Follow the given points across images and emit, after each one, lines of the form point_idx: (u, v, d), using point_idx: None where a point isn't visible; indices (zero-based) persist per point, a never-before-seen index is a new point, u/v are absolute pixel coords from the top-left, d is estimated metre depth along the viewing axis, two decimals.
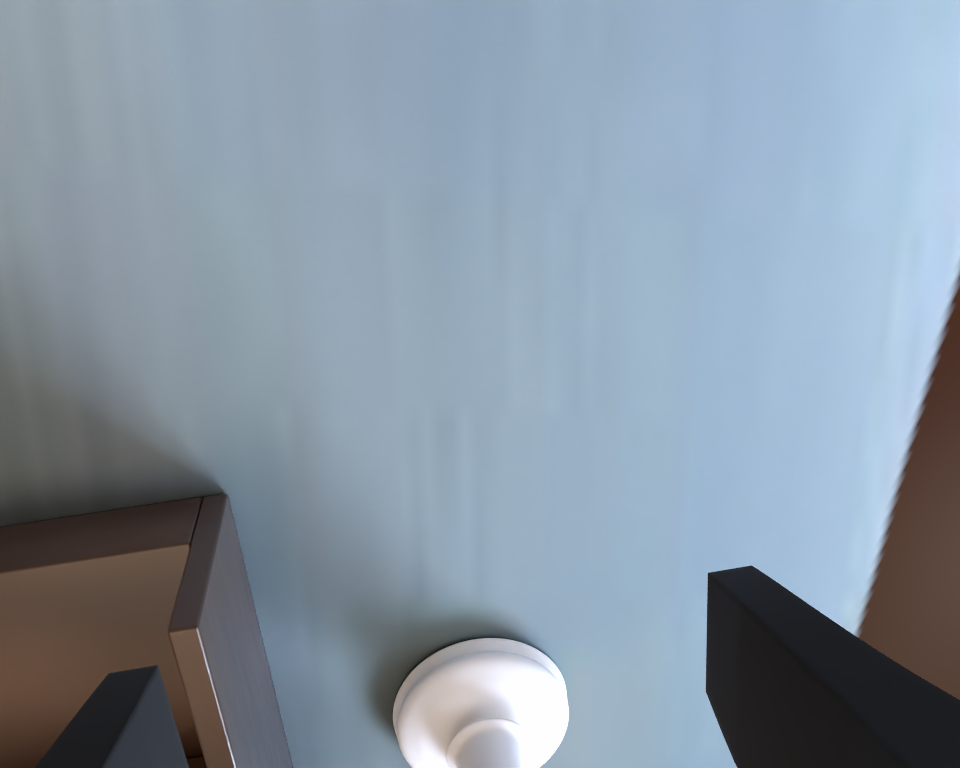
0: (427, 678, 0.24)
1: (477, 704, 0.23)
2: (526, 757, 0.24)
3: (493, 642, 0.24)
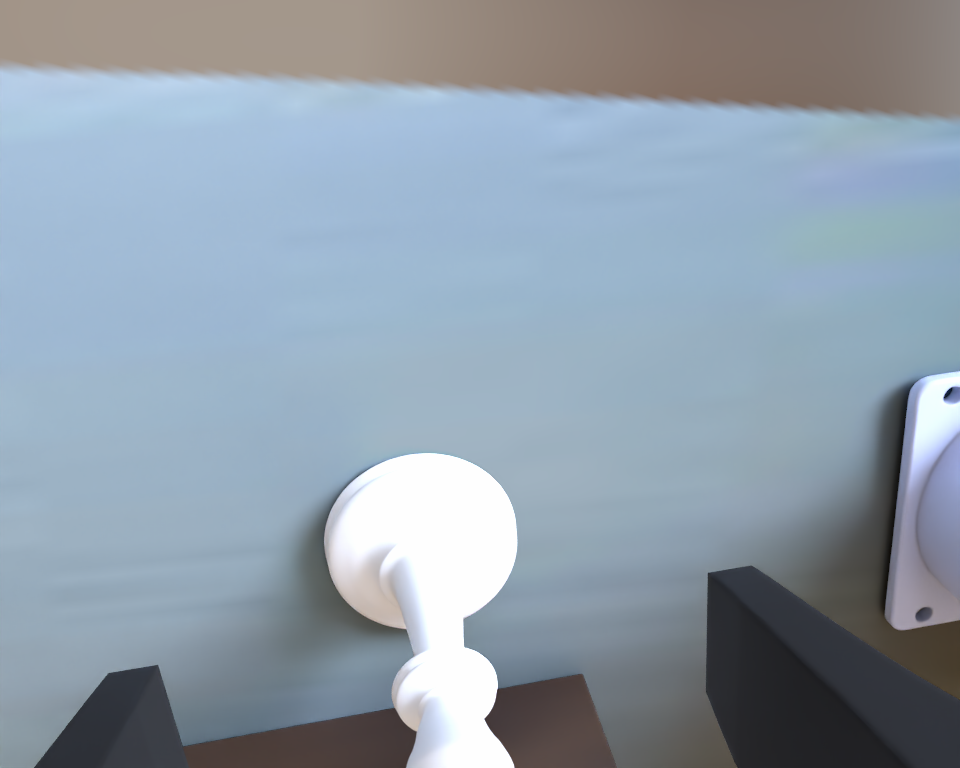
0: None
1: (374, 577, 0.22)
2: (436, 541, 0.21)
3: (326, 539, 0.22)
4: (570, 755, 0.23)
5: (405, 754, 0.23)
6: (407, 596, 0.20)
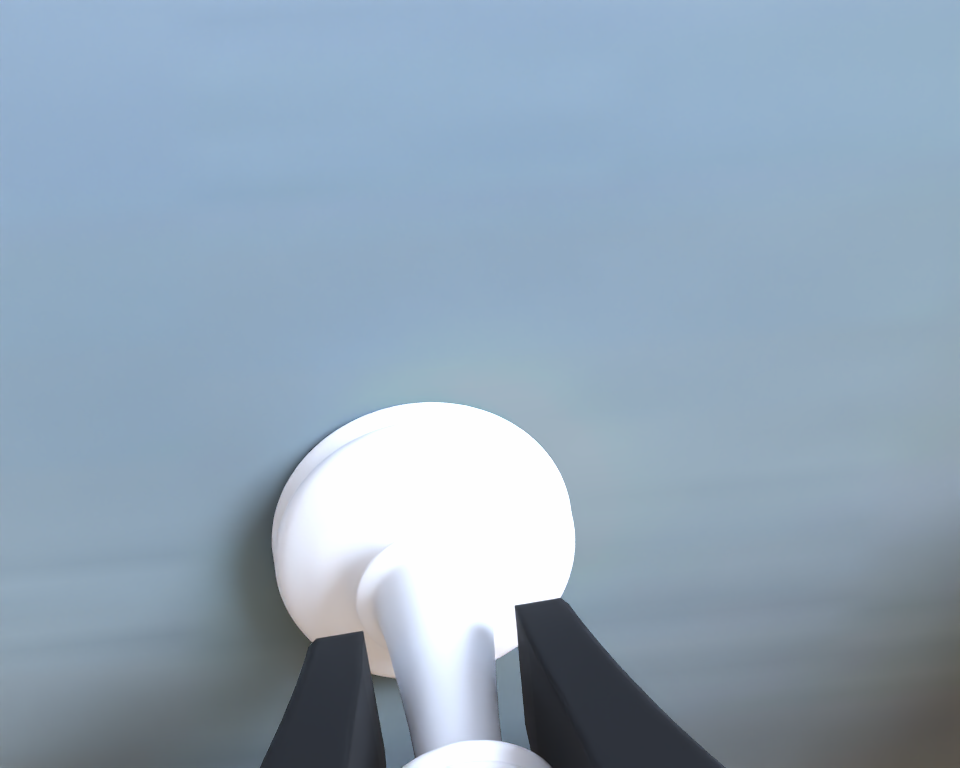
0: None
1: (349, 600, 0.14)
2: (449, 542, 0.13)
3: (274, 538, 0.14)
4: None
5: None
6: (400, 635, 0.12)
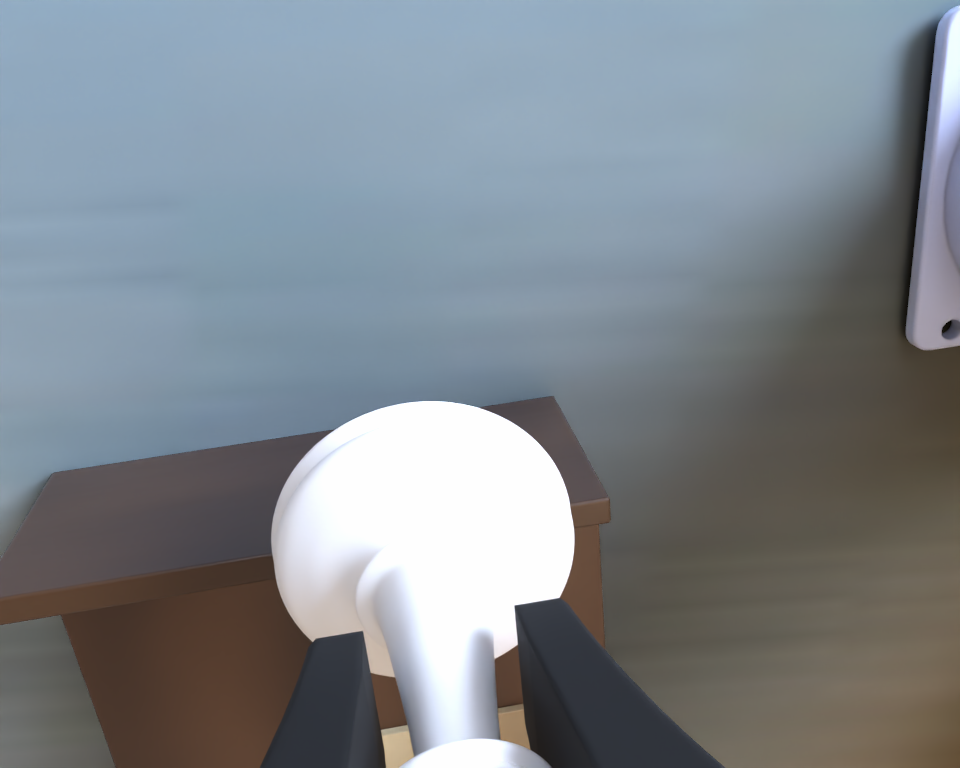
0: None
1: (348, 599, 0.14)
2: (449, 541, 0.13)
3: (273, 537, 0.14)
4: None
5: None
6: (400, 634, 0.12)
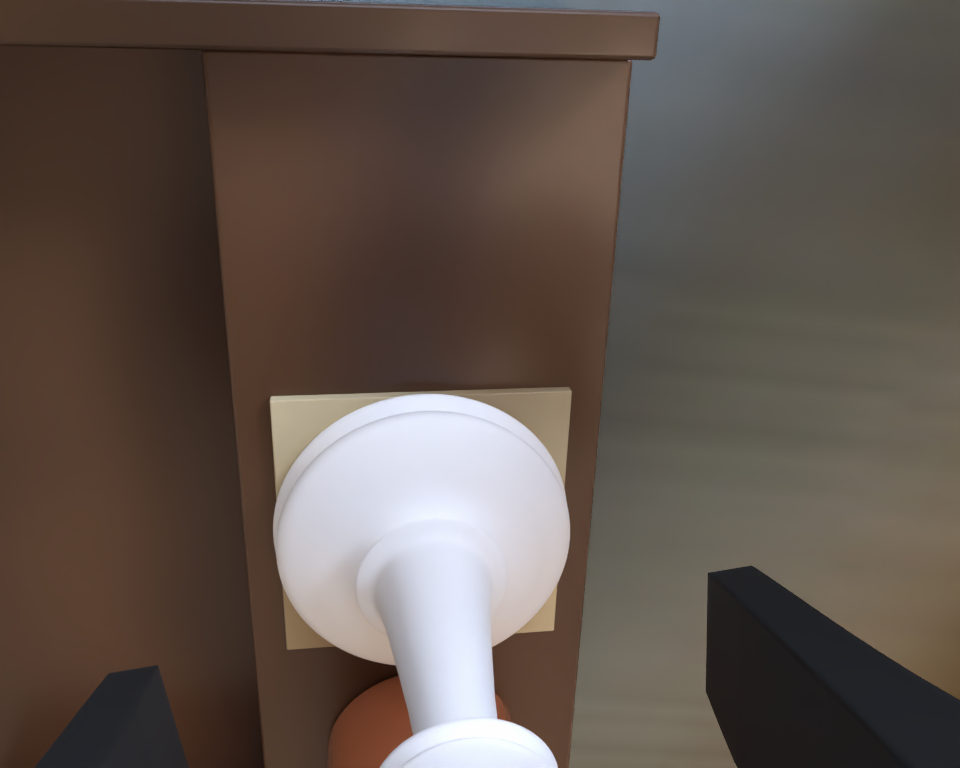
0: (318, 633, 0.15)
1: (349, 587, 0.14)
2: (447, 530, 0.13)
3: (276, 527, 0.14)
4: None
5: None
6: (399, 619, 0.12)
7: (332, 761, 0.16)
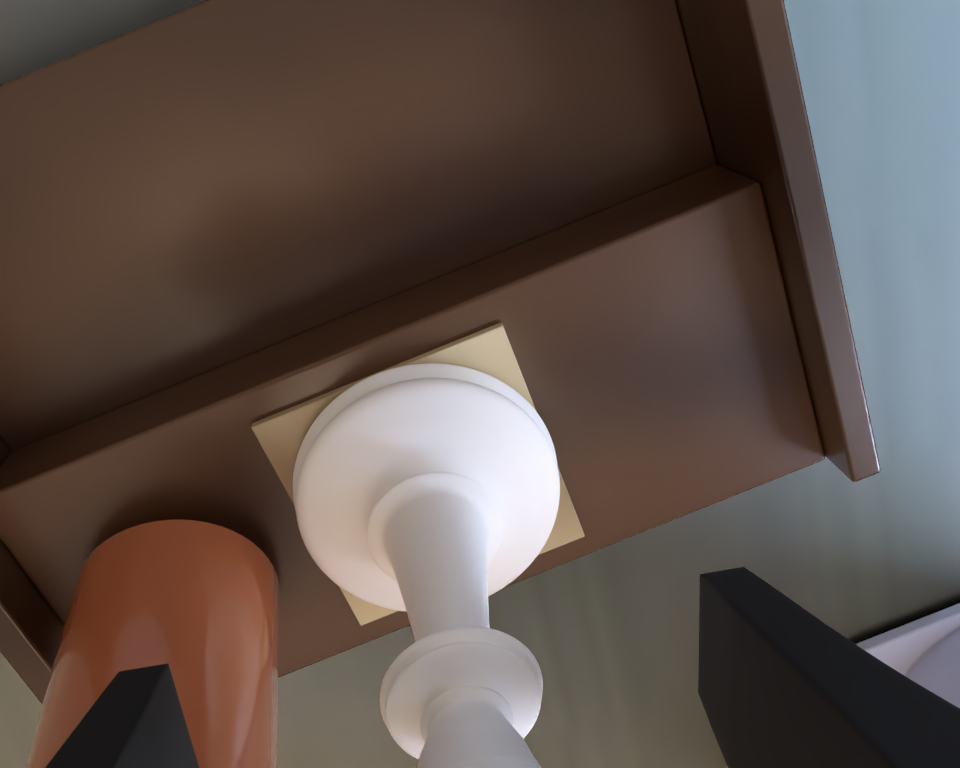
0: (308, 454, 0.15)
1: (389, 466, 0.15)
2: (494, 522, 0.15)
3: (389, 374, 0.15)
4: None
5: None
6: (452, 539, 0.14)
7: (159, 553, 0.15)
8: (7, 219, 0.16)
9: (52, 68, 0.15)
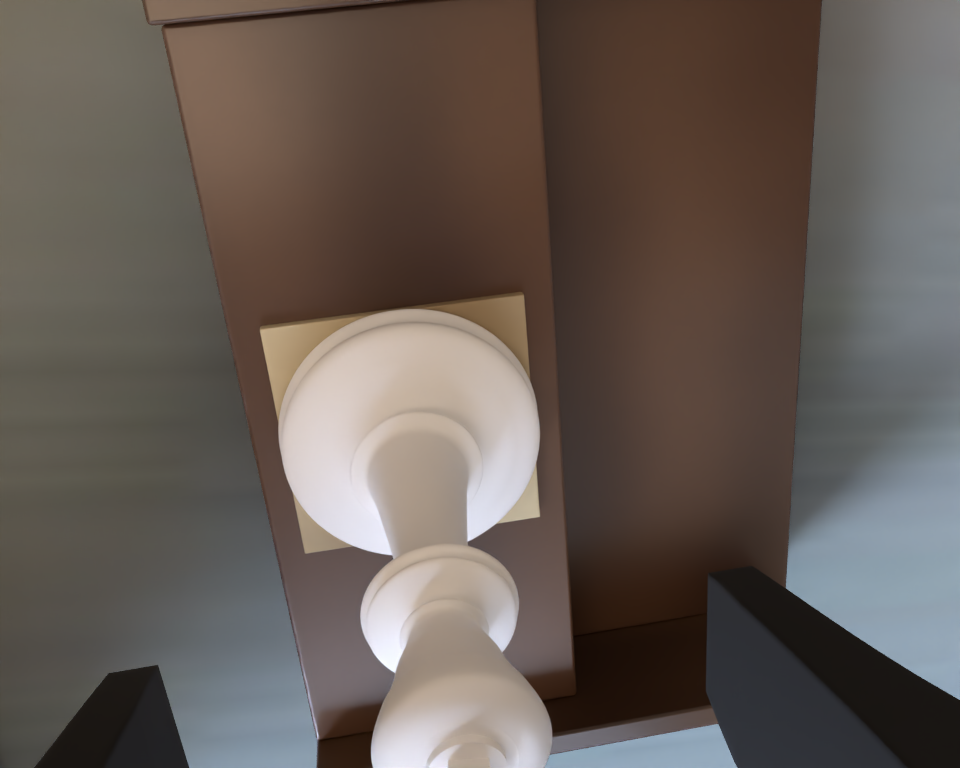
0: (501, 354, 0.16)
1: (483, 435, 0.16)
2: None
3: None
4: None
5: None
6: None
7: None
8: (720, 102, 0.18)
9: (807, 192, 0.19)
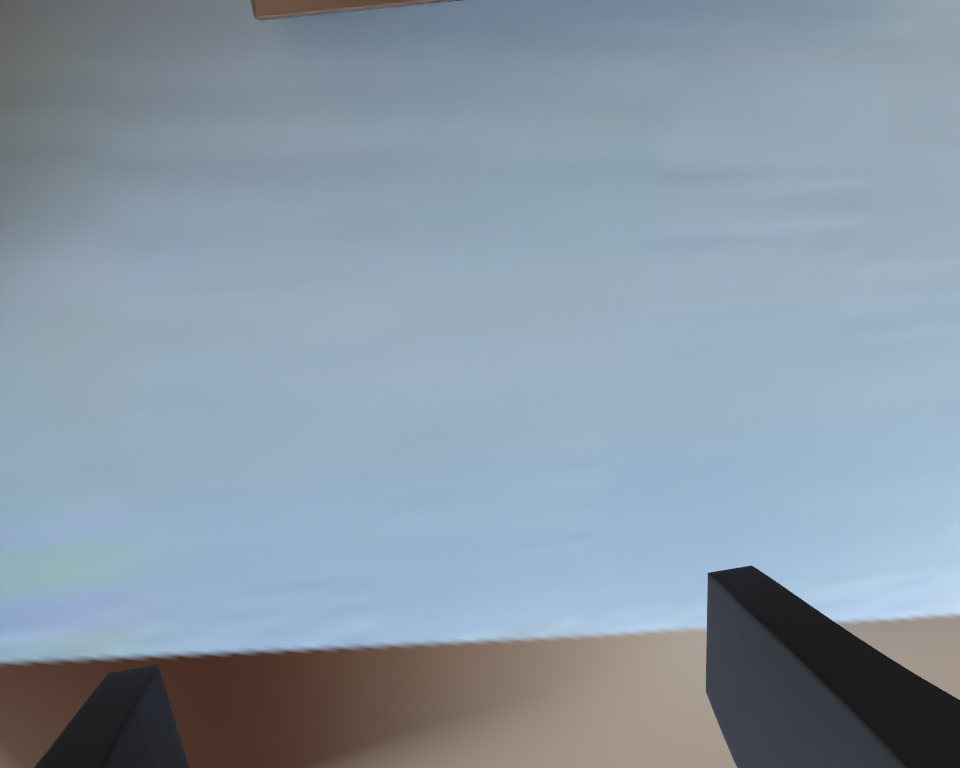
0: None
1: None
2: None
3: None
4: None
5: None
6: None
7: None
8: None
9: None
